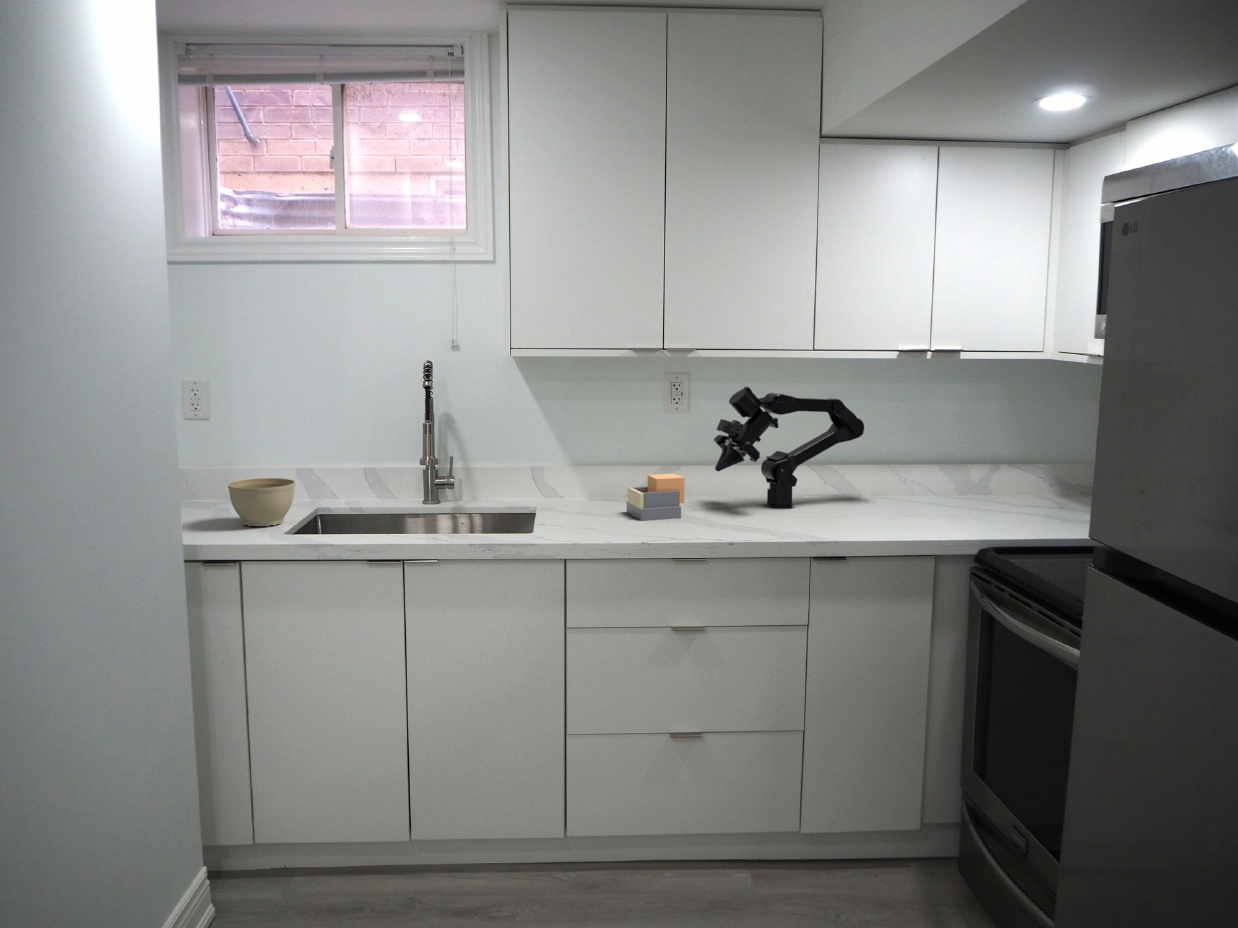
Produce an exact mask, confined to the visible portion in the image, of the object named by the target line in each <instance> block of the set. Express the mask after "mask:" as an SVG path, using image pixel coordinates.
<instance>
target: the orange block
mask: <svg viewBox="0 0 1238 928" xmlns="http://www.w3.org/2000/svg"><path fill="white" fill-rule="evenodd" d="M685 479H686V478H685V477H684V476H682V475H679V474H677V473H664V474H647V487H648V492H665V491H680V503H679V505H680V504H685V486H686V485H685Z"/></svg>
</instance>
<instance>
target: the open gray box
mask: <svg viewBox="0 0 1238 928" xmlns="http://www.w3.org/2000/svg"><path fill="white" fill-rule="evenodd" d="M679 503H680V491H665V492H648V486H637V487H635V486H634V487H627V501H626V513H627V514H628V515H631V516H632V517H634V518H637V519H638V520H640V521H642V522H643V521H654V520H655V521H656V520H668V519H669V520H670V519H681V518H682V506H681V505H680V504H681V503H680V504H679Z"/></svg>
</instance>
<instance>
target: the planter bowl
mask: <svg viewBox="0 0 1238 928" xmlns="http://www.w3.org/2000/svg"><path fill="white" fill-rule="evenodd" d="M295 486H296V481H295V480H293V479H289V478H282V477H281V478H280V477H278V478H277V477H262V478H260V477H259V478H258V477H257V478H250V479H249V478H248V479H247V478H246V479H242V480H235V481H231V482H229V483H228V484H227V488H228V491H229V492H228V493H229V498H230V502H231V504H232V507H233V508H234V511H235V512H236V514H237V515H238V517H239V518H240V519H241V520H242V524H243V525H244V526H245V525H248V526H247V527H249V526H267V525H274V526H278V525H277V524H279V525H281V524H283V522H284V518H285V517H286V516H287V513H288V512H289V511H290V509H291V507H292V504H293V501H294V497H295ZM267 527H268V526H267Z"/></svg>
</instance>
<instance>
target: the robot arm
mask: <svg viewBox="0 0 1238 928" xmlns="http://www.w3.org/2000/svg"><path fill="white" fill-rule="evenodd" d="M728 403H729V405H730V406H731V407H732V408H733V409H734V410H735V411H736V412H737V413H738V414H739V415H740V417H741V418H747V420H746V421H745V422H744V423H741V421H739V420H737V419H733V420H732V421H729V420H727V419H722V418H721V419H720V420H719V423H718V425H717V427H716V431H719V432H722V433H725V434H726V435H725V434H717V435H716V436H715V437H714V439H713V441H714V442H715V444H716V445H718V447H719V448H720V449H721V454H720V456H719V458H718V460H717V463H716V465H715V467H714V470H715V471H716V472H721V471H723V470H725V469H727V468H730V467H731V466H734V465H736V464H739V463H741V462H745V459H744V458H745V457H746V456H748V457H749V461H750V462H753V463H756V462H757V461H758V460H759V459H760V458H761V454H760V453H761V452H760V451H759V450H758V449H757V448H756V447H755V446H754V445H755V443H756V442H757V443H760V441H761V440H762V438H761V436H763V435H764V434H765V432H766V431H767V430H768V428H769V427H771V428H775V429H778V428H779V422H778V421H779V418H777V417H773V416H772V415H771V414H774V415H781V416H782V415H787V414H793V413H795V412H796V413H797V412H815V413H816V412H817V413H819V412H820V413H827V415H828V416H829V419H830V421H831V425H830V426H829V428H828V429H827V430H826V431H825V432H823V433H821V434H819V435H818V436H816V437H814V438H812V439H810V440H809V441H807V442H805V443H804V444H802V445H800V446H798V447H796V448H794V449H793V450H792V451H791V450H790V452H784V451H780V450H776V451H775V452H773V453H772V454H771V455H769V456H768V455H767V456H765V458H766V459H764V460H763V461H762V462H761V467H760V470H761V471H760V472H761V474H762V475H763V477H764V478H765V481H766V483H767V484H769V487H768V488H767V490H766V491H767V492H766V494H767V495H766V503H767V505H768V507H769V508H776V509H777V508H780V509H781V508H782V509H783V508H785V509H787V508H788V509H793V507H794V506H793V487H796V486H797V482H798V478H797V477H796V476H795V475H794V473H795V471H796V470H797V468H799V466H800V465H802V464H804V463H805V462H808V461H810V460H811V459H813V458H815V457H816V456H818V455H820V454H821V453H823V452H825V451H826V450H829V449H830V448H833V447H834V446H836V445H837V444H840V443H845V442H850V441H854V440H855V439H859V438H861V437H862V436H863V435H864V433H865V432H864V431H865V424H864V422H863V420H862V419H860V418H858V417H857V415H855V413H854V412H852V411H851V410H850V409H849V408H848V407H847V406H846V405H845V404H844V402H843V401H842V400H841V399H838V398H832V397H830V398H811V397H809V398H807V397H795V396H791V395H788V394H784V393H783V394H782V393H775V392H769V393H767V394H766V395H764V397H760V398H759V397H757V396H756V394H755V393H754V392H753V390H752V389H751V388H750V387H749V386H744V387H743V388H742V389H740V390H737V392H735V393H733V394H732V395H731V397H730V398H729V401H728ZM762 408H763V409H762Z"/></svg>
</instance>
